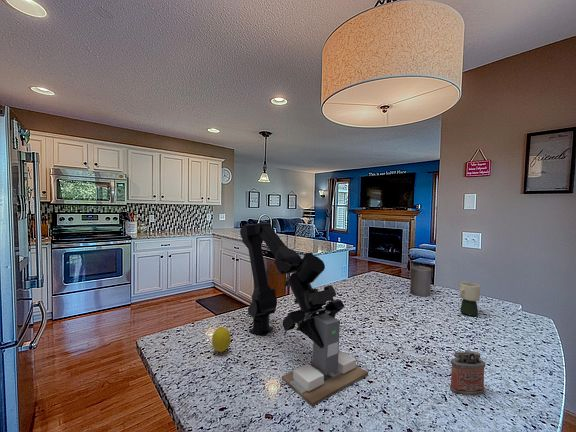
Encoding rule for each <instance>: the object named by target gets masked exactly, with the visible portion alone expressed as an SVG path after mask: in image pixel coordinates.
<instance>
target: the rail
mask: <svg viewBox="0 0 576 432" xmlns="http://www.w3.org/2000/svg"><path fill="white" fill-rule="evenodd" d="M357 366H358V367H359V364H357V363H356V367H357ZM317 370H318V369H317ZM318 371H319V370H318ZM319 372H320V371H319ZM320 373H322V372H320ZM322 374H323V373H322ZM342 374H343V373H341V372H340V371H338V370H336V371H333V372H331V373H329V374H326V375H324V374H323V375H324V383H326V382H328V381H330V380H332V379H334V378H336V377H338V376H340V375H342ZM290 384H291V385H292V386H293V387H294V388H295V389H297V390H298V391H299V392H300V393H301V394H304V393H306V392H308V391H307V390H306V389H305V388H304V387H302V386H301V385H300V384H299V383H298V382H297V381H295V380H293V381H290Z"/></svg>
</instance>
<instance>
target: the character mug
mask: <svg viewBox="0 0 576 432" xmlns="http://www.w3.org/2000/svg"><path fill="white" fill-rule="evenodd" d="M459 283H460V284H459V289H458V290H459V292H458V293H459V295H458V296H459V297H460V298H461V299H462V301H461V304H460V310H459V311H460V313H462V314H465V315H469V316H472V317H473V316H475V317H476V316H478V315H479V312H478V311H479V310H478V309H479V307H478V302H479V301H480V298H481V297H480V296H481V285H480V284H478V283H476V282H472V281H471V282H470V281H461V282H459Z"/></svg>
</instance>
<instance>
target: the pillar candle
mask: <svg viewBox="0 0 576 432" xmlns="http://www.w3.org/2000/svg"><path fill="white" fill-rule="evenodd" d="M409 285H410V287H409V289H410V290H409V291H410V292H409V293H410V294H411V295H413V296H415V297H420V298H428V296H429V297H430V296H431V290H432V289H431V287H432V268H431V267H427V266H423V265H413V266H411V267H410V284H409Z"/></svg>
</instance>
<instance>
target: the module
mask: <svg viewBox="0 0 576 432" xmlns="http://www.w3.org/2000/svg"><path fill="white" fill-rule="evenodd" d="M314 318H315V327H316V329H317V331H318V333H319V335H320V337H321V339H322V342H323V345H324V347H323V348H320V347H319V346H318V345H317V344H316V343H315V342H313V341H312V342H313V343H312V359H311V360H312V362H311V363H312V366H314V367H315V368H316V369H318V370H319V371H320V372H322V373H323V374H324V375H326V374H329V373H331V372H333V371H336V370H338V354H339V350H340V334H341V333H340V331H341V328H340V327H341V320H340V319H338V318H336V317H335V318H334V317H332V316H330V315H328V314H325V315H321V316H318V317H314Z"/></svg>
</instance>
